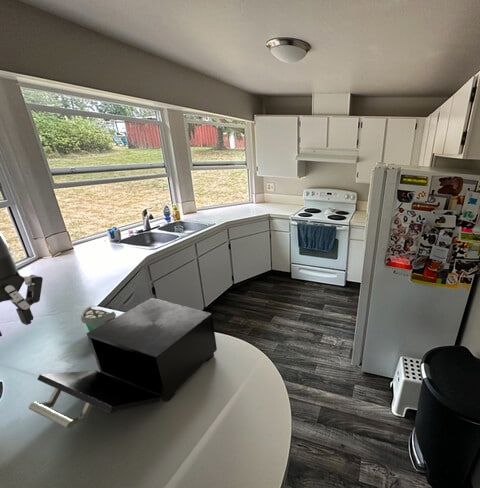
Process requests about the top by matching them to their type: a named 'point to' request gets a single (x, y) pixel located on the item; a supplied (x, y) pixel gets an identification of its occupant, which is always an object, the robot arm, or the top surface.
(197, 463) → the top surface
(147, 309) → the oven
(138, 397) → the oven door
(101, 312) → the food container
